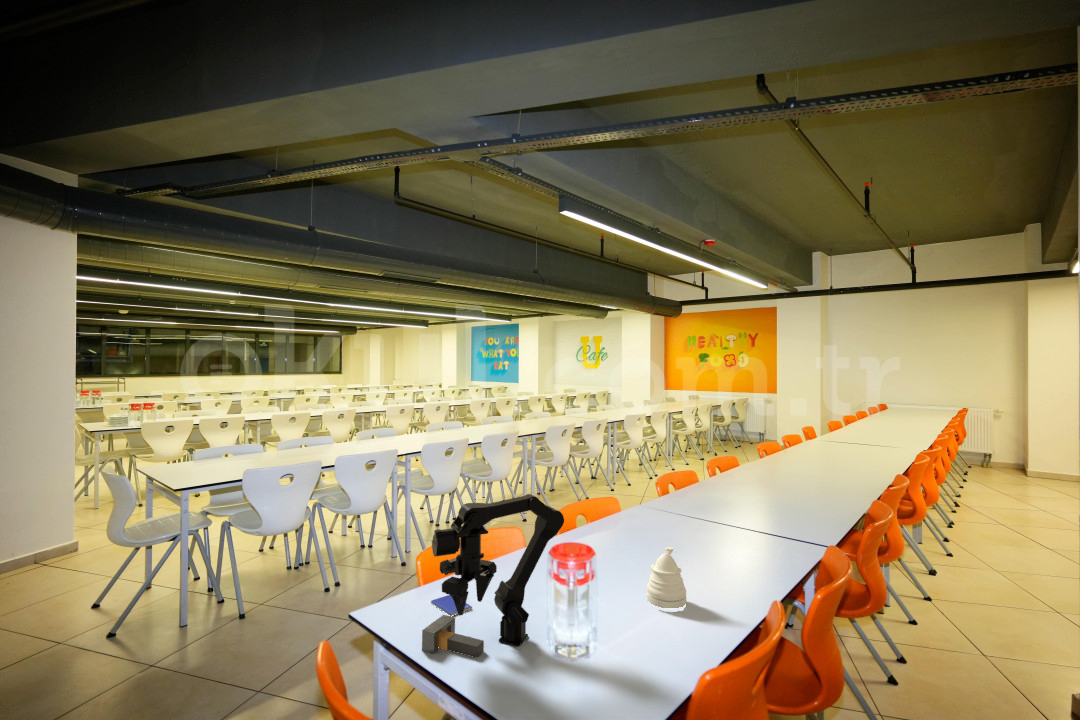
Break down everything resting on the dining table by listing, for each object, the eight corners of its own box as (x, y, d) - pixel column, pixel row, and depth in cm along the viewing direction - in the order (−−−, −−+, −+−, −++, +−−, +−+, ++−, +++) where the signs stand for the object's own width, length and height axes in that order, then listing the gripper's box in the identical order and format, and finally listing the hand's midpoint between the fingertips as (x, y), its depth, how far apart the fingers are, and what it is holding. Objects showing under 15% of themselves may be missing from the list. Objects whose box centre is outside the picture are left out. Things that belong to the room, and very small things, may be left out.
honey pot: (660, 592, 176) (659, 540, 177) (693, 604, 167) (693, 549, 167) (639, 603, 167) (639, 549, 168) (673, 616, 158) (673, 559, 158)
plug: (483, 651, 136) (483, 640, 136) (476, 658, 133) (477, 646, 133) (440, 640, 142) (441, 629, 142) (433, 646, 139) (433, 635, 139)
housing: (454, 636, 144) (455, 617, 144) (434, 653, 135) (434, 633, 135) (443, 633, 146) (443, 614, 146) (421, 650, 136) (422, 630, 137)
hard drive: (472, 606, 162) (452, 593, 171) (450, 613, 156) (430, 600, 165) (472, 611, 161) (452, 598, 171) (450, 618, 156) (430, 605, 165)
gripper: (466, 537, 150) (465, 589, 150) (425, 556, 134) (425, 616, 133) (497, 542, 145) (497, 597, 145) (459, 563, 129) (459, 625, 128)
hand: (470, 607), depth 138 cm, fingers open, 9 cm apart
